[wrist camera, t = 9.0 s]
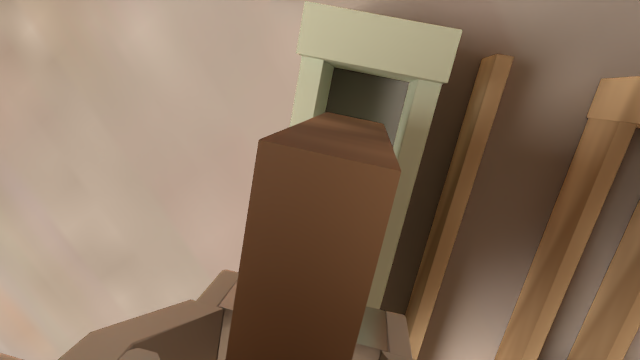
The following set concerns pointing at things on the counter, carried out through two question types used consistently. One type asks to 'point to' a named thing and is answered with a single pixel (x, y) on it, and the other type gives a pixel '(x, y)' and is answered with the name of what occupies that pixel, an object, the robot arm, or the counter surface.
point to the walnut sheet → (312, 239)
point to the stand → (386, 61)
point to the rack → (561, 231)
